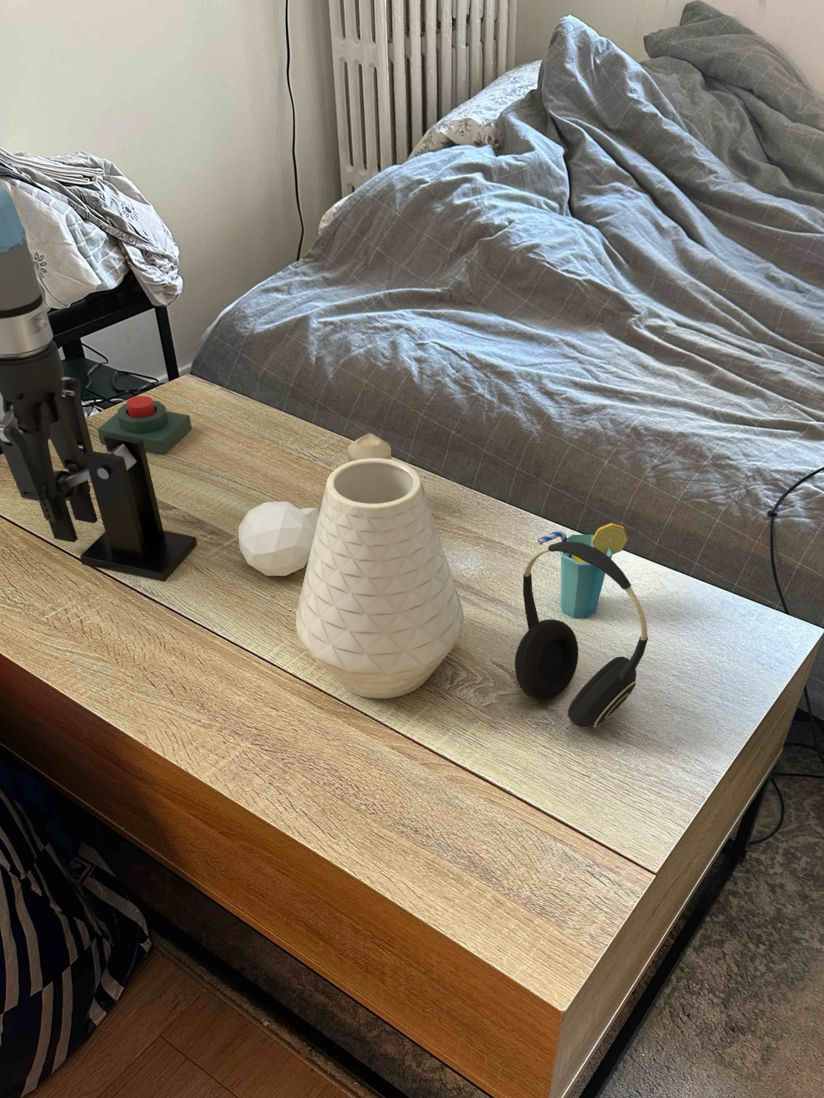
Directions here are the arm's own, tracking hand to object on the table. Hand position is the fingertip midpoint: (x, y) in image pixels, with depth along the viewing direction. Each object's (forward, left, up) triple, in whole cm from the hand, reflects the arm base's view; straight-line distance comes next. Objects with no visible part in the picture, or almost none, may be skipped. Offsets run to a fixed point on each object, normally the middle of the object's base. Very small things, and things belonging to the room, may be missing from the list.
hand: (76, 529), depth 118 cm
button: (-6, +26, +2) cm, 27 cm away
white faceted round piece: (+26, +4, -2) cm, 27 cm away
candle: (+31, +19, -2) cm, 37 cm away
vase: (+43, -10, -2) cm, 44 cm away
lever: (+5, 0, +7) cm, 8 cm away
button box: (-6, +26, -2) cm, 27 cm away
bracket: (+8, 0, -2) cm, 8 cm away
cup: (+61, +6, -2) cm, 62 cm away
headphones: (+64, -10, -2) cm, 65 cm away
